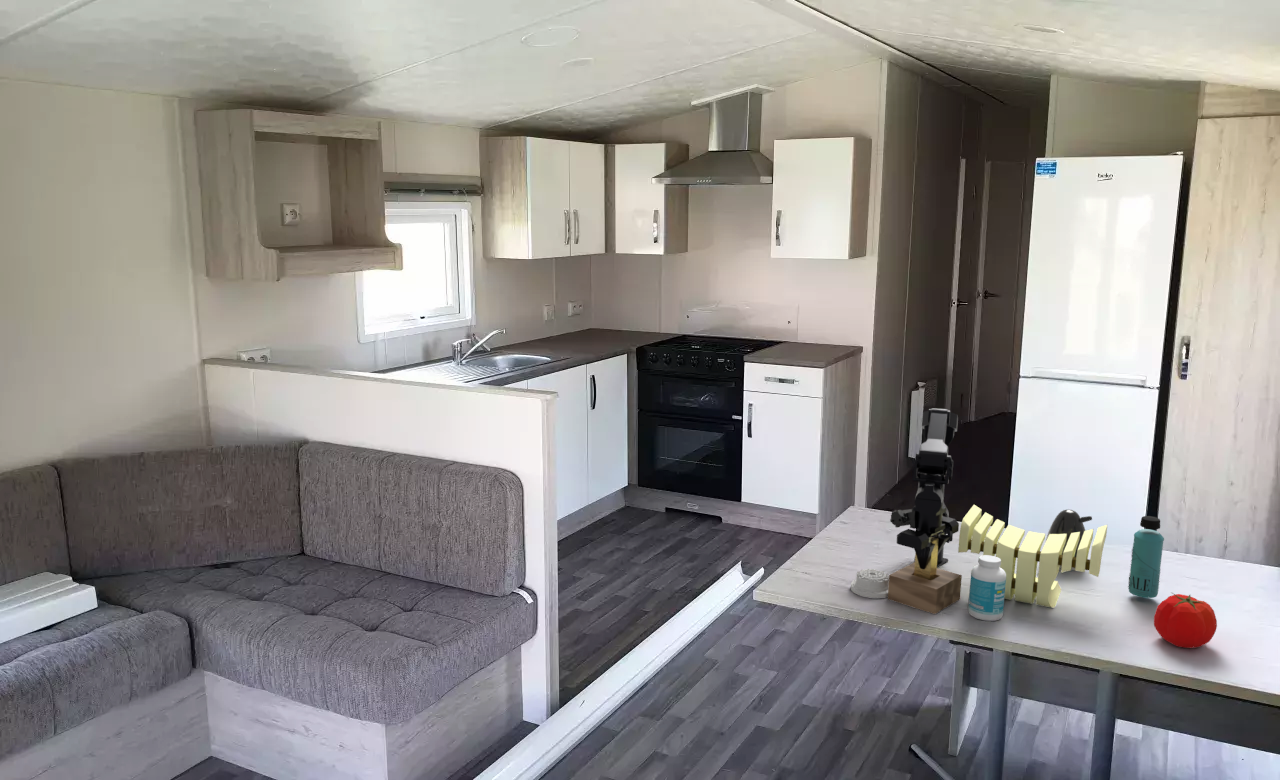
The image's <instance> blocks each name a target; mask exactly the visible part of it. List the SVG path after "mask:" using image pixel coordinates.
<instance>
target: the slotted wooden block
mask: <svg viewBox="0 0 1280 780" xmlns="http://www.w3.org/2000/svg"><path fill="white" fill-rule="evenodd" d="M914 567H915V561H913V562H912V563H910V564H908V565H906V566H904V567H902V568H900V569H898V570H896V571H894V572H892V573H890V574H888V576H889V586H888V597H887V600H889V601H892V602H896V603H898V604H901V605H905V606H908V607H911V608H913V609H917V610H921V611H924V612H927V613H929V612H930V614H933V615H936V614H938V613H940V612H942V611H943V610H945V609H946V608H948V607H950V606H952V605H953V604H956V602H958V601H960V600H961V591H962V580H963V579H962V578H963V575H962V574H959V573H955V572H952V571H948V570H945V569H941V568H938V567H937V570H936V578H935V579H933V580H928V579H925V578H921V577H918V576H915V575H914Z"/></svg>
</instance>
